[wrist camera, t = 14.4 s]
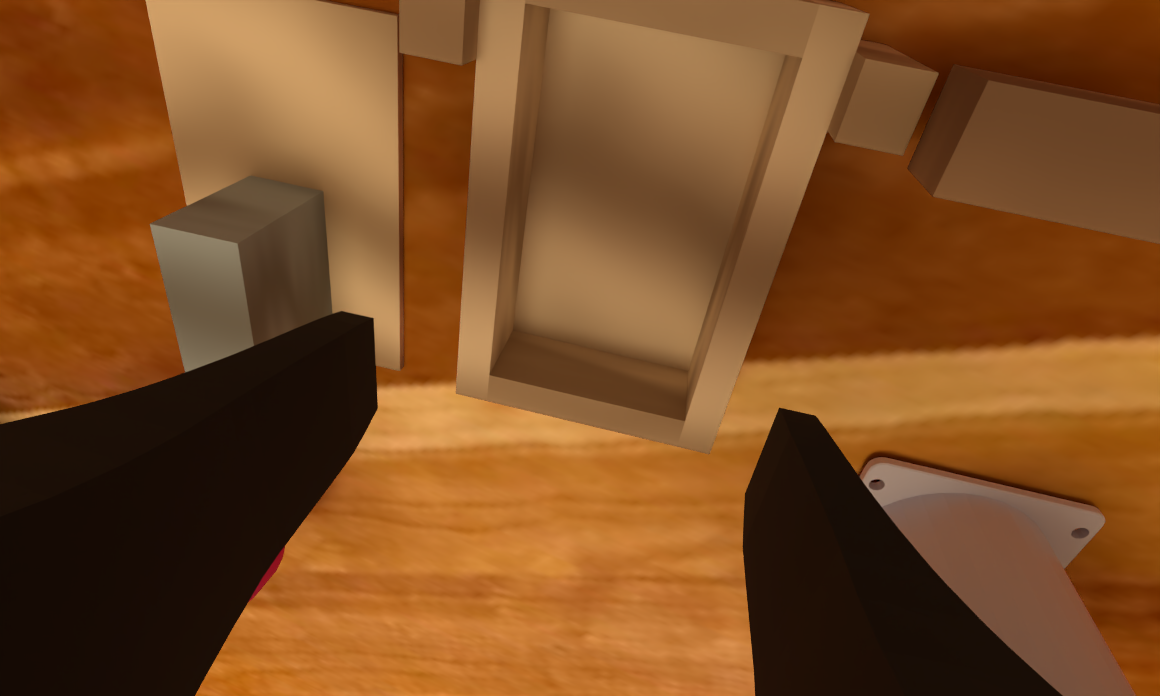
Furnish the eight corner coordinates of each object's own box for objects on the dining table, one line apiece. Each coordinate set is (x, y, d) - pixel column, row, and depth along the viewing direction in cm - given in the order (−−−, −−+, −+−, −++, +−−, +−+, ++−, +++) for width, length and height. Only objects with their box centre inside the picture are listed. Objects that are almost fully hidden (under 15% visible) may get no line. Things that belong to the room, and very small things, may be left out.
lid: (408, 359, 24) (342, 447, 20) (224, 316, 25) (121, 393, 21) (408, 13, 18) (311, 33, 14) (159, -35, 18) (-12, -31, 14)
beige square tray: (749, 397, 22) (757, 488, 18) (451, 327, 23) (399, 402, 19) (897, 13, 16) (956, 32, 12) (472, -68, 16) (399, -75, 12)
